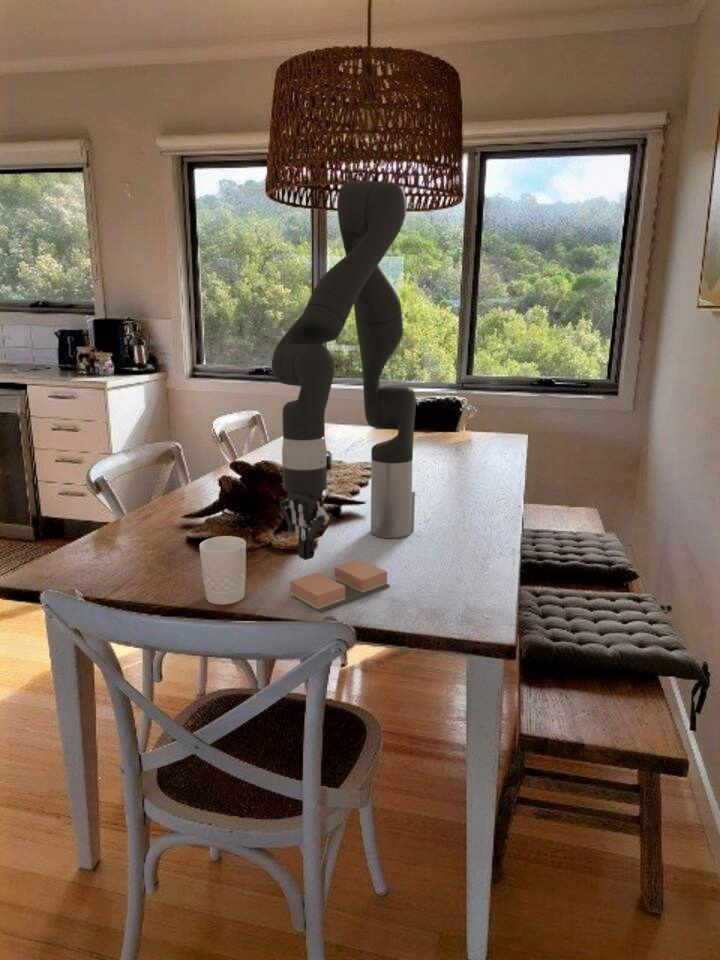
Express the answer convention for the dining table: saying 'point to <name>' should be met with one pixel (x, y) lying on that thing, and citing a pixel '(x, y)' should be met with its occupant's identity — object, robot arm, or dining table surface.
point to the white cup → (223, 569)
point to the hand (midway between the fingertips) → (306, 557)
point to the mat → (347, 596)
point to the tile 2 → (360, 575)
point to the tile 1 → (317, 590)
